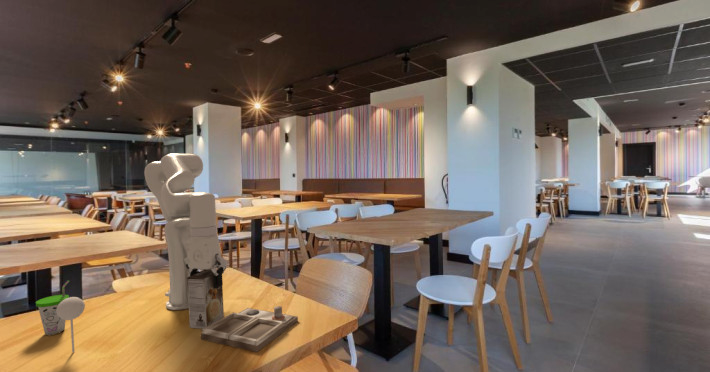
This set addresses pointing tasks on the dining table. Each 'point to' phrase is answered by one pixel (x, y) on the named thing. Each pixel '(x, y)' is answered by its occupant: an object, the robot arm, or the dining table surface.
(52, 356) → the dining table surface
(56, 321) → the cup
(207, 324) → the coffee box
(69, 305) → the lollipop
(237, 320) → the grey compartment tray
